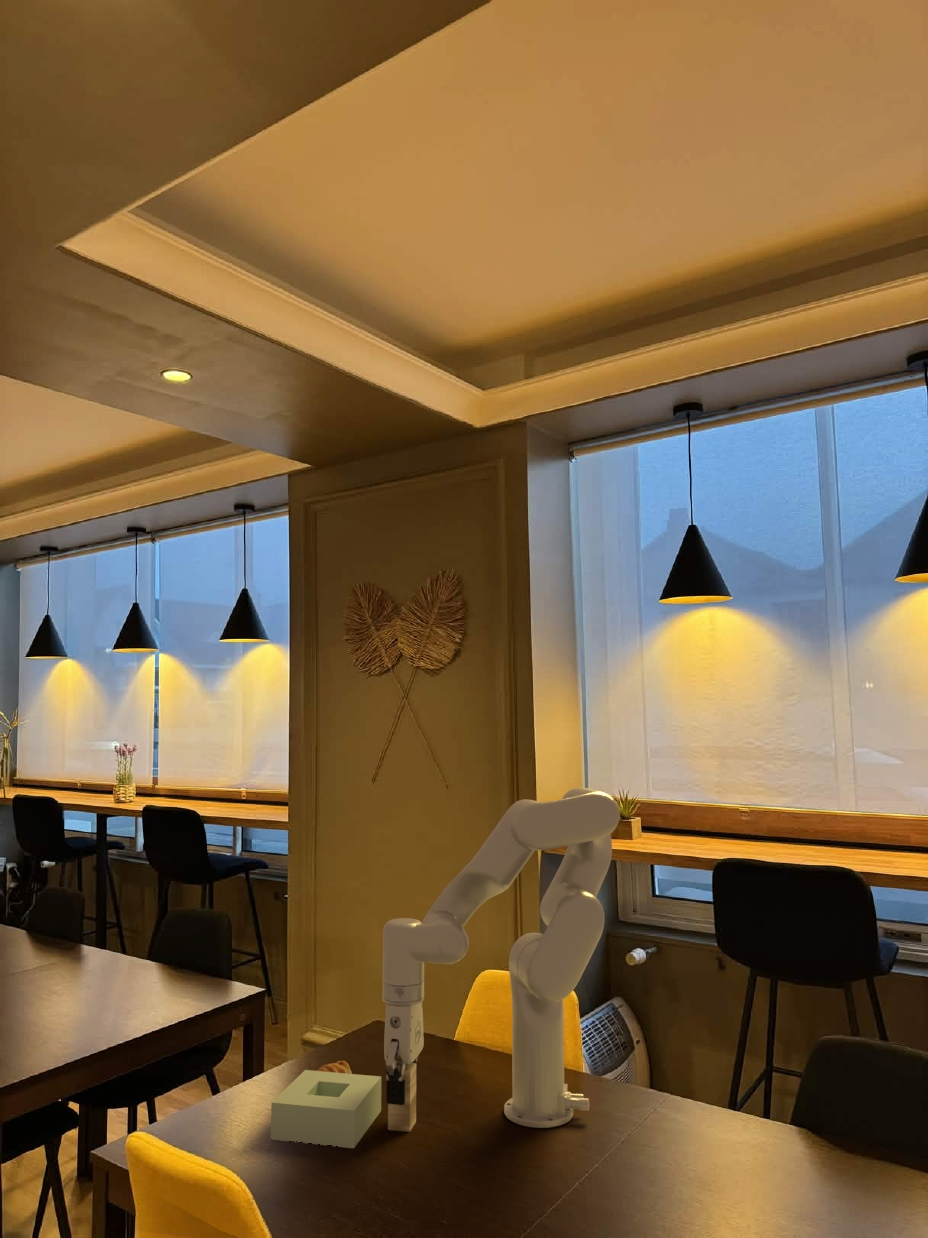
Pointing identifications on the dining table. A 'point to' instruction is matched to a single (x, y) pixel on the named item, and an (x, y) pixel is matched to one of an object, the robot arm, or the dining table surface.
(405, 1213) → the dining table surface
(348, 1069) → the pastry
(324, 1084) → the well block
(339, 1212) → the dining table surface
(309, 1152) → the dining table surface
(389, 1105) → the birch block
